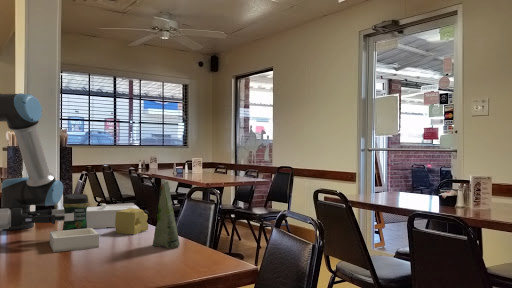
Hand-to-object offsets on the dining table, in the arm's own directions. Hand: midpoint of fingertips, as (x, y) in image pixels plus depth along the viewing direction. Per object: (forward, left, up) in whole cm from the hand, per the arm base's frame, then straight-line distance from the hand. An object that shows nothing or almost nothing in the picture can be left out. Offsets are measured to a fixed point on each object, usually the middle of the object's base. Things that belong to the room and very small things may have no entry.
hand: (71, 214), depth 165 cm
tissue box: (-27, +22, -11) cm, 36 cm away
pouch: (+28, +30, -11) cm, 42 cm away
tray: (+11, 0, -11) cm, 15 cm away
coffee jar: (-1, +2, -11) cm, 11 cm away
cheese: (-5, +26, -11) cm, 28 cm away
